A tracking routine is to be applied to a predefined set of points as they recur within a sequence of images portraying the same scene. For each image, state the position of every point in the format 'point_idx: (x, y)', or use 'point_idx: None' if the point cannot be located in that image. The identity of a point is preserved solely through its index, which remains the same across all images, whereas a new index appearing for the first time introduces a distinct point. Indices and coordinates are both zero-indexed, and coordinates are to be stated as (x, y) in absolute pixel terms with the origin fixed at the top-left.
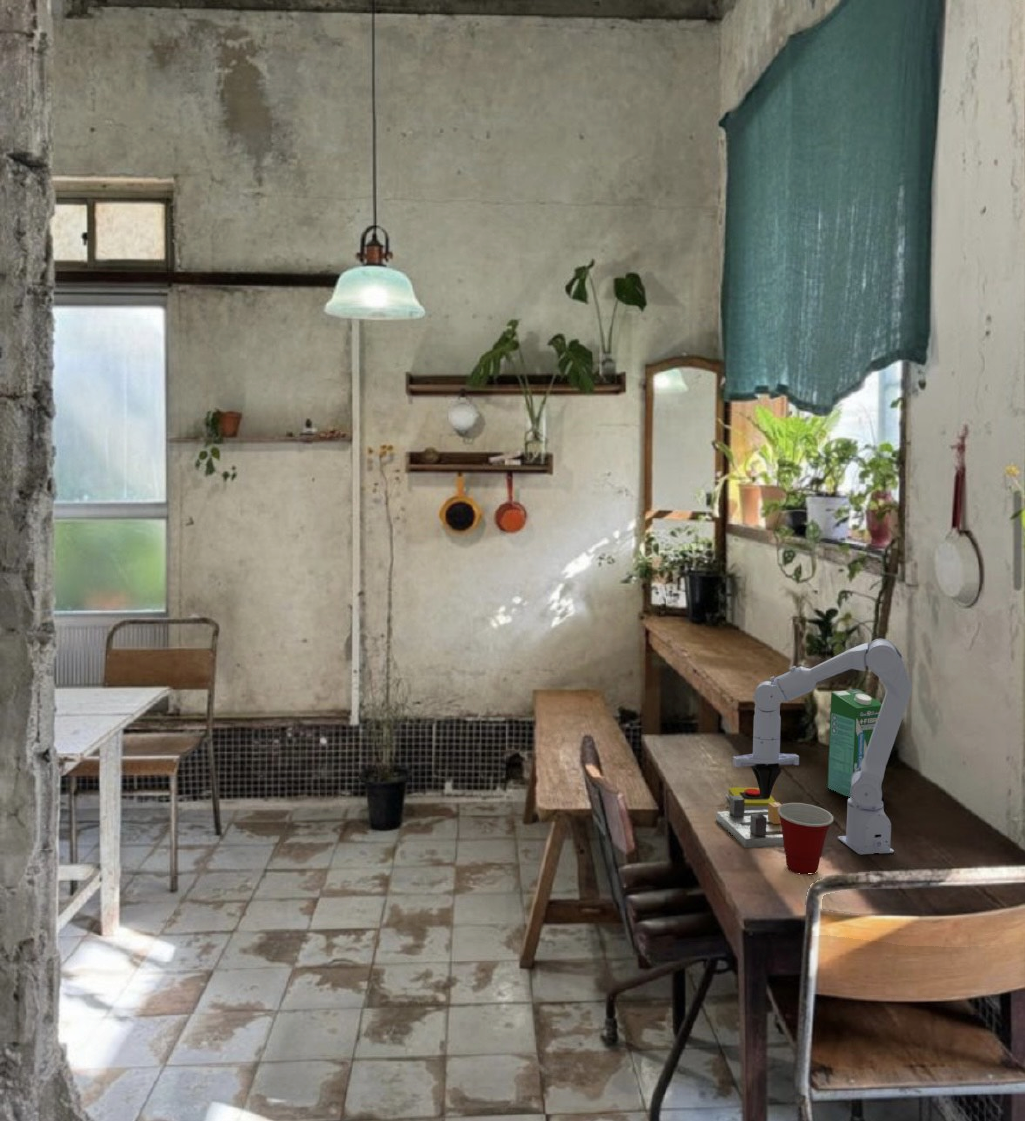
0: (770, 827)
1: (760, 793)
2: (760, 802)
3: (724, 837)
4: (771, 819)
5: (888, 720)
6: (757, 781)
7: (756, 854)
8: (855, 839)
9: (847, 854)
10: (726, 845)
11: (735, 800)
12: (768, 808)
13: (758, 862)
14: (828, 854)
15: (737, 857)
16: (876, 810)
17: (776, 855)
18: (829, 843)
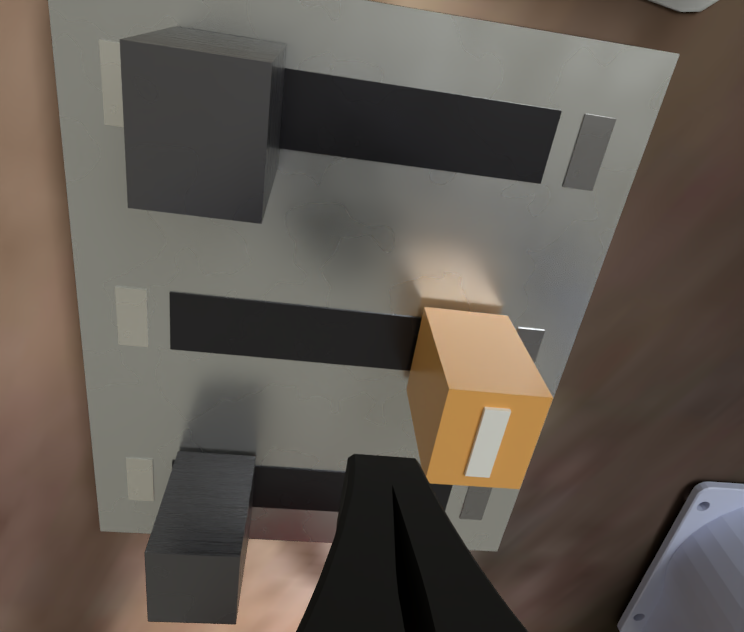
0: (359, 415)
1: (345, 485)
2: None
3: (37, 328)
4: (415, 373)
5: None
6: (318, 586)
7: None
8: (681, 622)
9: (575, 609)
10: (12, 437)
11: (143, 206)
12: (438, 361)
13: (119, 617)
14: None
15: (30, 565)
16: None
17: (246, 575)
18: (605, 511)
